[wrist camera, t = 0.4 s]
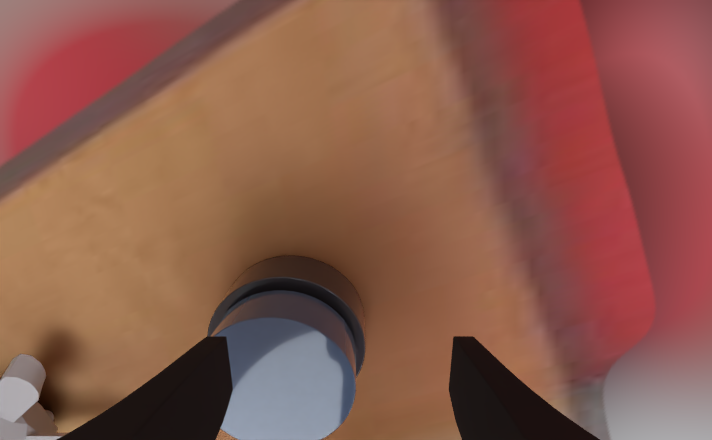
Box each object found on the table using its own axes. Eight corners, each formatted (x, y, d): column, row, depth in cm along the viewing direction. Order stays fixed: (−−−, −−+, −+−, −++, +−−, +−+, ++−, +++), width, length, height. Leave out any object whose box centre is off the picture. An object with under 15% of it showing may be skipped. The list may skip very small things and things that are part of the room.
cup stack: (360, 379, 24) (361, 460, 19) (228, 374, 24) (191, 453, 19) (368, 258, 21) (371, 311, 16) (220, 251, 21) (173, 303, 16)
